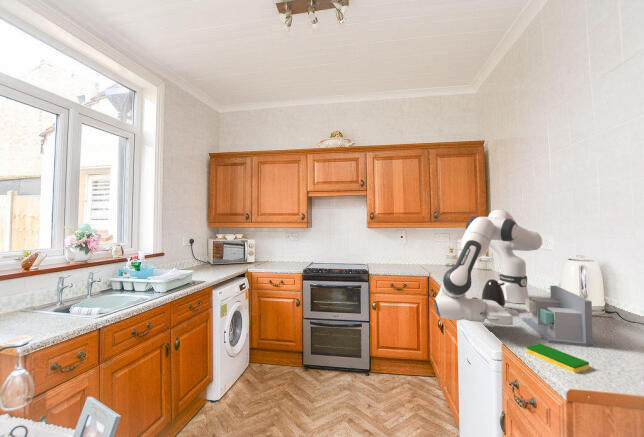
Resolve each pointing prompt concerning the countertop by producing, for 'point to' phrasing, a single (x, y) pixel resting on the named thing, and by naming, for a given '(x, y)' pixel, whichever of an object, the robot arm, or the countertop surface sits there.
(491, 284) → the pump dispenser
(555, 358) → the dish sponge
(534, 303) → the ivory button
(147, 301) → the countertop surface
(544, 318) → the teal button
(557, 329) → the grey angled box fixture
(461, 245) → the robot arm
